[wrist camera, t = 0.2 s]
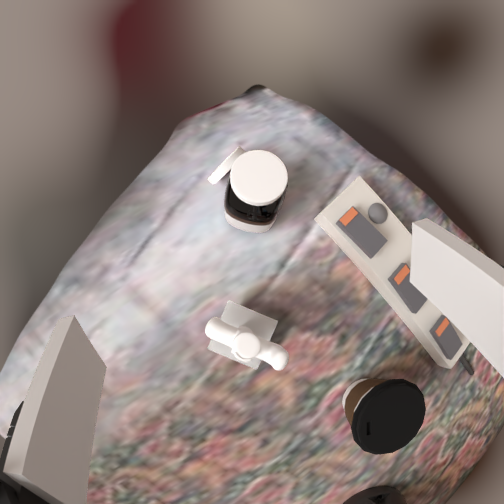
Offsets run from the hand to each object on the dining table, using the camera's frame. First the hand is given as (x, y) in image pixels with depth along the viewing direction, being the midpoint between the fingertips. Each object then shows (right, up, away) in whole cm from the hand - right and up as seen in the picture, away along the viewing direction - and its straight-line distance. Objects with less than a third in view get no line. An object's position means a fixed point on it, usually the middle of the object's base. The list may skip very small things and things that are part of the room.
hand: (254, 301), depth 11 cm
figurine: (-2, -10, +34) cm, 36 cm away
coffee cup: (+17, -21, +34) cm, 44 cm away
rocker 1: (+23, -4, +31) cm, 39 cm away
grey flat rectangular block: (+15, +4, +32) cm, 36 cm away
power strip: (+27, -6, +37) cm, 46 cm away
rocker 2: (+30, -12, +30) cm, 44 cm away
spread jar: (-1, +10, +37) cm, 39 cm away
